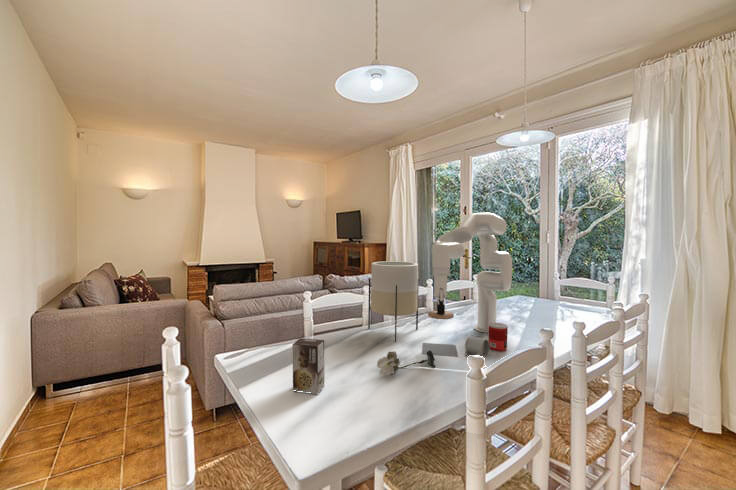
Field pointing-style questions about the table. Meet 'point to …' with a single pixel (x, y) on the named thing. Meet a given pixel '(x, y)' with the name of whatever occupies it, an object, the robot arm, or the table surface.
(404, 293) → the planter
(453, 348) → the mat
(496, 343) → the canned food
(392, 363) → the artificial flower
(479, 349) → the ceramic mug
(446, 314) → the lid
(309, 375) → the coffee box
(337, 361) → the table surface
